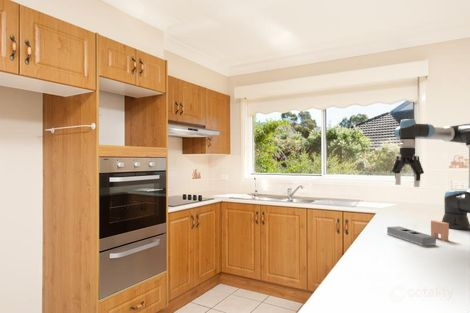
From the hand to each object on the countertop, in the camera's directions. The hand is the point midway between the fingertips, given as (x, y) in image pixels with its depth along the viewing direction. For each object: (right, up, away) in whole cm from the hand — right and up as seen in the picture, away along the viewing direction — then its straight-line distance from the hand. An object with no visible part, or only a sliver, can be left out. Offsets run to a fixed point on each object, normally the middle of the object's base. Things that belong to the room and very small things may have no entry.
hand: (406, 185), depth 170 cm
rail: (-3, -28, -7) cm, 29 cm away
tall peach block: (+14, -28, -5) cm, 32 cm away
